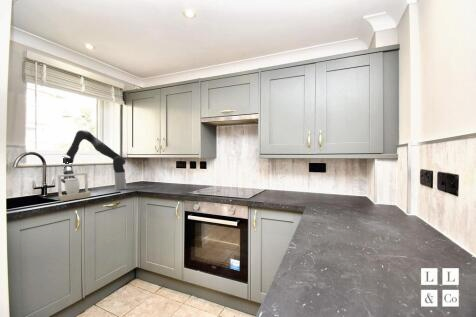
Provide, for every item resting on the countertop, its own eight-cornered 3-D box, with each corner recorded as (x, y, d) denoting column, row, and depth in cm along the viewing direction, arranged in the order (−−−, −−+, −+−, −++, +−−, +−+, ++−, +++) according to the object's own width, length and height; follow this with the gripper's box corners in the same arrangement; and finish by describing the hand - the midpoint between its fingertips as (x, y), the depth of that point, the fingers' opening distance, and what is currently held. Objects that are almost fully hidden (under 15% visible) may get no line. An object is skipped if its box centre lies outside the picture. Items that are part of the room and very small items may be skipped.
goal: (58, 198, 176) (57, 174, 176) (88, 194, 190) (86, 172, 190) (60, 200, 166) (58, 175, 166) (91, 196, 180) (90, 173, 180)
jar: (62, 196, 186) (61, 179, 185) (75, 194, 195) (74, 177, 195) (69, 197, 182) (68, 179, 181) (82, 194, 191) (81, 178, 191)
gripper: (59, 170, 197) (61, 185, 189) (77, 169, 207) (79, 183, 198) (59, 176, 201) (61, 190, 193) (76, 174, 211) (79, 188, 202)
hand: (70, 186), depth 195 cm, fingers closed
